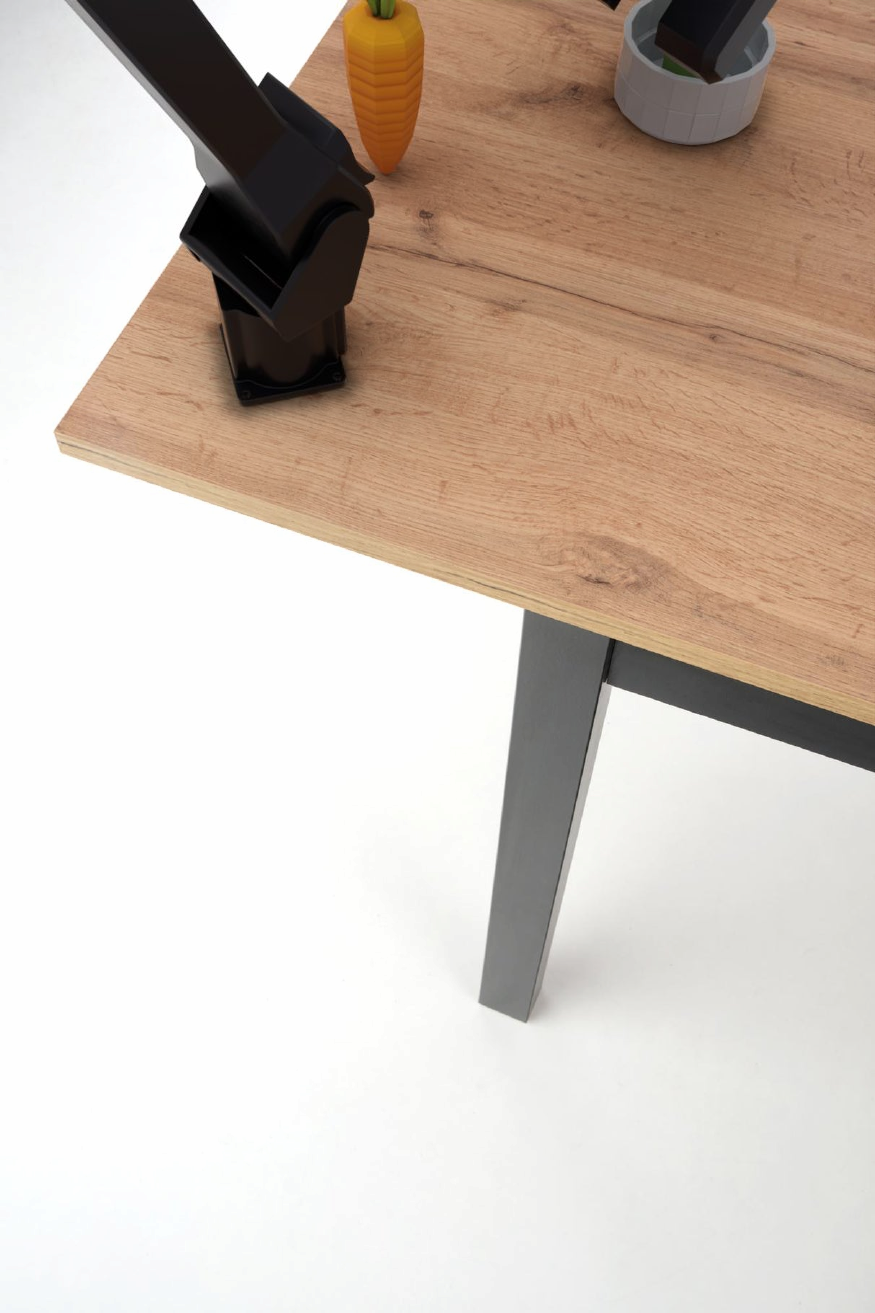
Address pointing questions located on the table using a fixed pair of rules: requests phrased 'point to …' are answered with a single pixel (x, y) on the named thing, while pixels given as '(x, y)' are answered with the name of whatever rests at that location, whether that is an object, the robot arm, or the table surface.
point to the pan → (686, 84)
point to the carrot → (384, 75)
